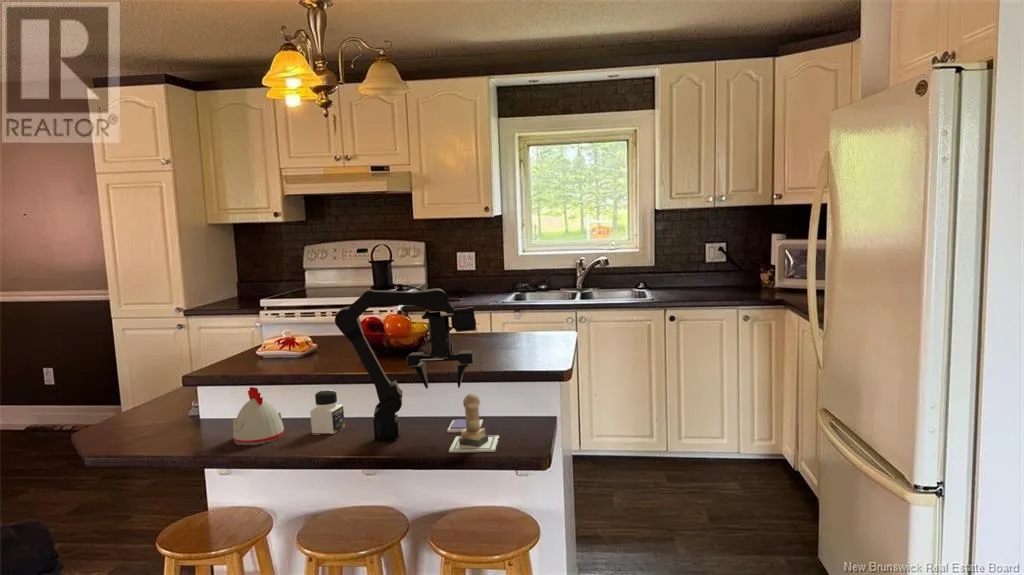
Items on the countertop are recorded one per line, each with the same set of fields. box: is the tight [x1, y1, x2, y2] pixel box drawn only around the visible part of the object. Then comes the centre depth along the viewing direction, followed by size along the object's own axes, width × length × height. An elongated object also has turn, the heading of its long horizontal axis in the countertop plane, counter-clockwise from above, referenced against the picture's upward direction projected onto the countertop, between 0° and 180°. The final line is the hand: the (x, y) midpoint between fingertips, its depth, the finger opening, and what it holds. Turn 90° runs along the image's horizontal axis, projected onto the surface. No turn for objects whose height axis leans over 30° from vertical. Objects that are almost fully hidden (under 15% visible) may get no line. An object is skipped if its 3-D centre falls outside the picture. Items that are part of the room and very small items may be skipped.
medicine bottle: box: [309, 389, 345, 435], centre depth 192 cm, size 7×7×12 cm
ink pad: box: [446, 418, 484, 433], centre depth 189 cm, size 9×9×1 cm
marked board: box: [448, 435, 500, 454], centre depth 173 cm, size 12×11×1 cm
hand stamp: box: [459, 393, 489, 447], centre depth 172 cm, size 6×5×13 cm
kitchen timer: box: [232, 386, 285, 442], centre depth 188 cm, size 14×14×15 cm
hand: (443, 387), depth 184 cm, fingers open, 9 cm apart
